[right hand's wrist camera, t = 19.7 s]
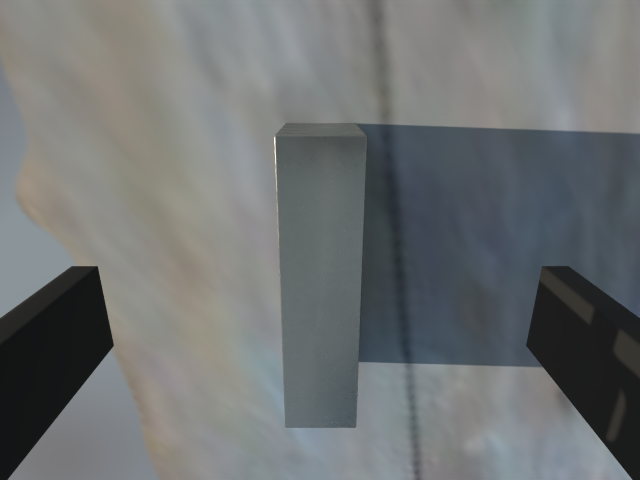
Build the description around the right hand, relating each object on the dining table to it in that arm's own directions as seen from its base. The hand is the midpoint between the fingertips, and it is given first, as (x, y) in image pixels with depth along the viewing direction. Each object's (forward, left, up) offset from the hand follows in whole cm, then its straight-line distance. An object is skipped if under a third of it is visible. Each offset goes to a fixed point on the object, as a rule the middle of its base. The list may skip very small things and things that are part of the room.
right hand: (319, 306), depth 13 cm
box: (+5, +7, -24) cm, 26 cm away
